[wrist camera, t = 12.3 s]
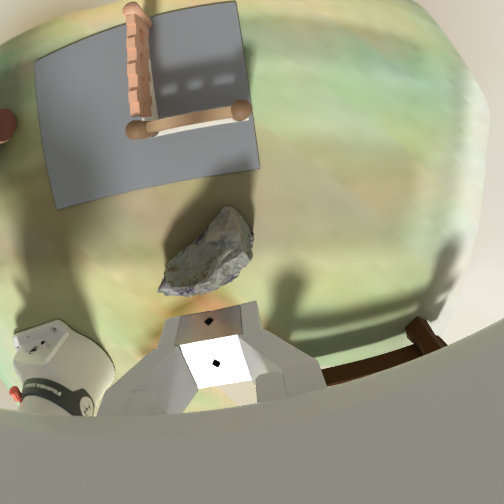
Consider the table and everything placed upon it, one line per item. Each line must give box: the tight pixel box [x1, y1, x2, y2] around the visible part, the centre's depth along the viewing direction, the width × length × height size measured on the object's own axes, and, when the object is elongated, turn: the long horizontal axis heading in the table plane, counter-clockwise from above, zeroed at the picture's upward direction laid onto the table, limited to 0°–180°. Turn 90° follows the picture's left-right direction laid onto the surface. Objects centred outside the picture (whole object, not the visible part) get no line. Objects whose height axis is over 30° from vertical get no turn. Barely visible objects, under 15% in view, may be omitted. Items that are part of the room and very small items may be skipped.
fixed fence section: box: [125, 99, 252, 140], centre depth 30 cm, size 12×2×7 cm, turn 97°
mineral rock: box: [158, 206, 254, 297], centre depth 35 cm, size 13×11×10 cm
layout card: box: [34, 2, 260, 210], centre depth 31 cm, size 28×22×1 cm
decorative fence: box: [321, 316, 448, 387], centre depth 41 cm, size 34×6×15 cm, turn 98°
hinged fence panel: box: [122, 2, 152, 118], centre depth 26 cm, size 13×2×6 cm, turn 3°
